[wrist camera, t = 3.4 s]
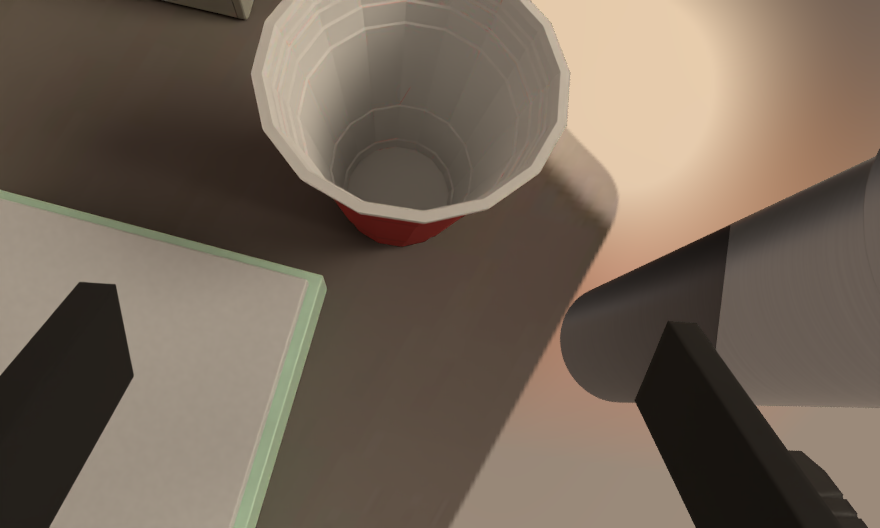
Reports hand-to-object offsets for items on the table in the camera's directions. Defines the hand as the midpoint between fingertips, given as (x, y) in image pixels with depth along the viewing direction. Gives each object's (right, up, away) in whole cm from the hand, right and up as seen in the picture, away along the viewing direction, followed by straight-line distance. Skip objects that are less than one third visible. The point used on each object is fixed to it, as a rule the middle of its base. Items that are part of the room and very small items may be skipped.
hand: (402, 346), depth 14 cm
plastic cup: (-1, +6, +17) cm, 18 cm away
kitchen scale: (-14, -5, +12) cm, 19 cm away
